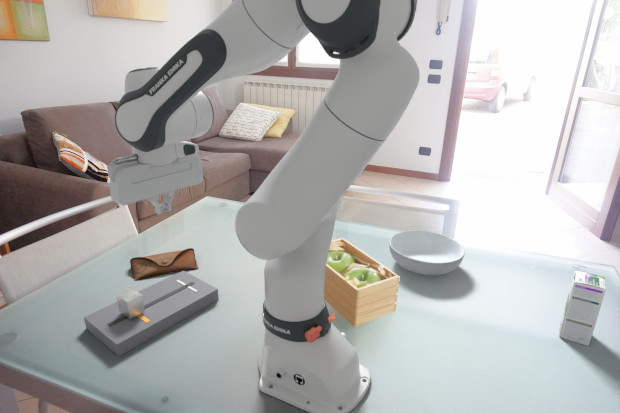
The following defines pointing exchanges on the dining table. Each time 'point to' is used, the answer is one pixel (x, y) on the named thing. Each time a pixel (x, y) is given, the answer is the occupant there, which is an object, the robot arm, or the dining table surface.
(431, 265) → the serving bowl
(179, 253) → the sunglasses case
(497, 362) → the dining table surface
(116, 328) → the fader console
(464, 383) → the dining table surface
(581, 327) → the syrup box
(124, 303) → the fader tab
